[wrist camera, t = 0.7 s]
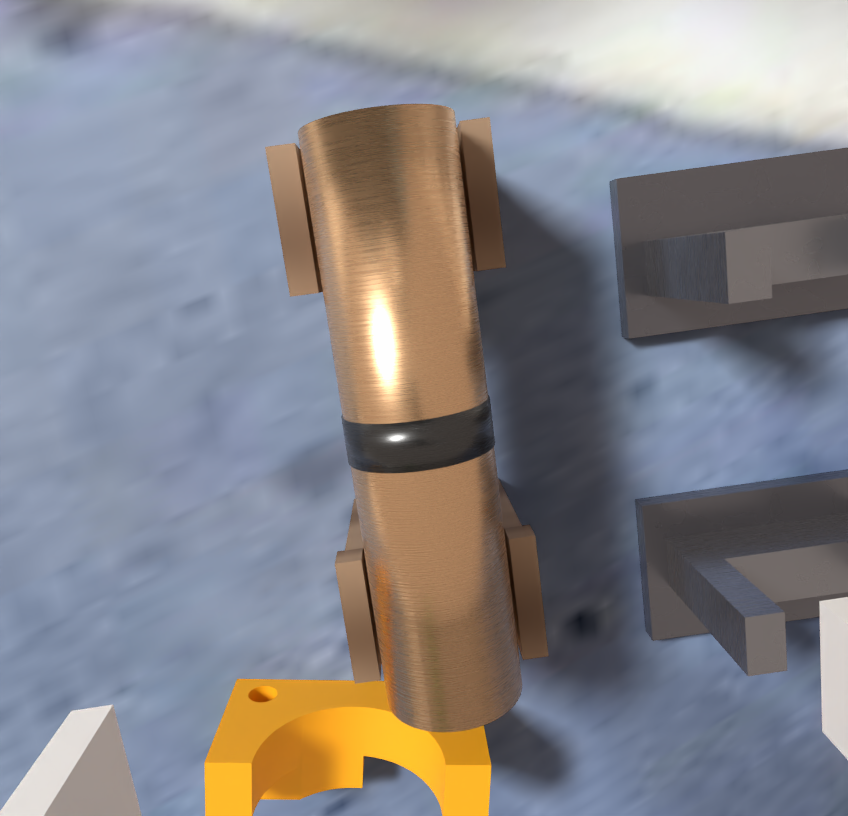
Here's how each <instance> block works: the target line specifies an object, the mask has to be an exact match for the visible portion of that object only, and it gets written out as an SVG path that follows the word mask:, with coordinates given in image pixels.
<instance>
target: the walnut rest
mask: <svg viewBox="0 0 848 816" xmlns="http://www.w3.org/2000/svg"><path fill="white" fill-rule="evenodd" d="M456 129H457V137H458V146H459V154H460V163H461V171H462V180H463V188H464V197H465V205H466V213H467V222H468V230H469V239H470V247H471V256H472V264H473V271H482V270H489V269H497V268H504V267H506V263H505V254H504V245H503V236H502V227H501V218H500V208H499V199H498V190H497V181H496V172H495V163H494V154H493V144H492V135H491V126H490V117H487V118H480V119H472V120H465V121H460V123H459V125H458V127H457V128H456ZM265 149H266V155H267V161H268V167H269V173H270V179H271V185H272V190H273V196H274V202H275V208H276V214H277V220H278V226H279V232H280V238H281V244H282V250H283V256H284V262H285V268H286V274H287V280H288V286H289V292H290V297H291V296H298V295H305V294H313V293H319V292H323V288H322V282H321V275H320V269H319V263H318V257H317V250H316V244H315V238H314V231H313V225H312V219H311V212H310V206H309V200H308V193H307V187H306V181H305V174H304V168H303V162H302V155H301V149H299V148H298V146H297V145H296V144H295V143H292V144H285V145H277V146H270V147H265ZM498 485H499V493H500V502H501V510H502V519H503V527H504V536H505V544H506V552H507V561H508V569H509V578H510V586H511V595H512V603H513V612H514V620H515V629H516V637H517V644H518V646H519V649H520V652H521V655H522V658H523V660H525V659H532V658H539V657H546V656H548V647H547V638H546V629H545V620H544V611H543V602H542V593H541V583H540V574H539V565H538V556H537V547H536V538H535V534H534V532H533V530H532V528H531V527H530V525H523V526H522V525H521V523H520V521H519V519H518V517H517V515H516V513H515V511H514V509H513V507H512V505H511V503H510V501H509V499H508V496H507V494H506V492H505V490H504V488H503V486H502V484H501V482H500V480H499V479H498ZM335 567H336V573H337V579H338V585H339V591H340V597H341V603H342V609H343V615H344V621H345V627H346V633H347V639H348V645H349V651H350V657H351V663H352V669H353V675H354V681H355V684H357V683H364V682H371V681H378V680H381V664H382V661H381V655H380V648H379V642H378V636H377V629H376V623H375V617H374V610H373V604H372V598H371V591H370V585H369V579H368V572H367V566H366V560H365V554H364V547H363V541H362V535H361V528H360V522H359V516H358V509H357V503H356V499H354V504H353V509H352V515H351V520H350V526H349V531H348V537H347V542H346V548H345V551H338V552H337V556H336V561H335Z"/></svg>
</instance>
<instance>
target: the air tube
mask: <svg viewBox="0 0 848 816" xmlns="http://www.w3.org/2000/svg"><path fill="white" fill-rule="evenodd" d="M298 136H299V143H300V149H301V155H302V162H303V168H304V174H305V181H306V187H307V193H308V200H309V206H310V212H311V219H312V225H313V231H314V238H315V244H316V250H317V257H318V263H319V269H320V275H321V282H322V288H323V294H324V301H325V307H326V313H327V320H328V326H329V332H330V339H331V345H332V351H333V358H334V364H335V370H336V377H337V383H338V389H339V396H340V402H341V408H342V424H343V430H344V437H345V443H346V449H347V456H348V462H349V465H350V466H351V471H352V478H353V484H354V490H355V497H356V503H357V509H358V516H359V522H360V528H361V535H362V541H363V547H364V554H365V560H366V566H367V572H368V579H369V585H370V591H371V598H372V604H373V610H374V617H375V623H376V629H377V636H378V642H379V648H380V655H381V661H382V667H383V674H384V680H385V686H386V693H387V699H388V704H389V707H390V710H391V711H392V713H393V714H394V715H395V716H396V718H398V719H399V720H400V721H402V722H403V723H405V724H407V725H409V726H411V727H414V728H417V729H420V730H424V731H431V732H458V731H464V730H470V729H474V728H477V727H480V726H483V725H486V724H488V723H490V722H492V721H495V720H496V719H498V718H500V717H501V716H503V715H504V714H505V713H507V712H508V711H509V710H510V709H511V708H512V707H513V706H514V705H515V704H516V702H517V701H518V699H519V697H520V695H521V691H522V680H521V671H520V663H519V654H518V646H517V637H516V629H515V620H514V612H513V603H512V595H511V586H510V578H509V569H508V561H507V552H506V544H505V536H504V527H503V519H502V510H501V502H500V493H499V485H498V476H497V468H496V459H495V451H494V445H495V438H494V430H493V421H492V413H491V404H490V397H489V395H488V391H487V383H486V375H485V366H484V358H483V349H482V341H481V332H480V324H479V315H478V307H477V298H476V290H475V281H474V273H473V264H472V256H471V247H470V239H469V230H468V222H467V213H466V205H465V197H464V188H463V180H462V171H461V163H460V154H459V146H458V137H457V129H456V120H455V112H454V110H453V109H451V108H449V107H446V106H441V105H433V104H400V105H388V106H379V107H371V108H364V109H358V110H353V111H348V112H343V113H339V114H335V115H331V116H328V117H324V118H321V119H318V120H315V121H313V122H311V123H308V124H306V125H305V126H303V127H302V128H300V130H299V131H298Z"/></svg>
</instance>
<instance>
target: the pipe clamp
mask: <svg viewBox="0 0 848 816" xmlns="http://www.w3.org/2000/svg"><path fill="white" fill-rule="evenodd" d="M364 756H369V757H375V758H380V759H384V760H387V761H391V762H394V763H396V764H398V765H401V766H403V767H405V768H407V769H409V770H410V771H412V772H413V773H415V774H416V775H417V776H419V777H420V778H421V779H422V780H423V781H424V782H425V783H426V784H427V785H428V786H429V787H430V788H431V789H432V791H433V792H434V794H435V796H436V797H437V799H438V801H439V804H440V807H441V810H442V815H443V816H488V810H489V795H490V779H491V761H490V756H489V751H488V745H487V740H486V735H485V730H484V725H483V726H480V727H477V728H474V729H470V730H464V731H458V732H431V731H424V730H420V729H417V728H414V727H411V726H409V725H407V724H405V723H403V722H402V721H400V720H399V719H398V718H396V716H395V715H394V714H393V713H392V711H391V710H390V707H389V704H388V699H387V693H386V686H385V681H371V682H364V683H357V684H355V681H344V680H273V679H237V681H236V683H235V686H234V689H233V691H232V694H231V696H230V699H229V701H228V704H227V707H226V709H225V712H224V714H223V717H222V719H221V722H220V724H219V727H218V730H217V732H216V735H215V737H214V740H213V742H212V745H211V747H210V750H209V753H208V755H207V758H206V760H205V812H206V816H253V813H254V810H255V808H256V806H257V804H258V802H259V800H260V799H298V800H300V799H302V798H304V797H307V796H309V795H312V794H315V793H318V792H321V791H326V790H331V789H338V788H362V785H363V770H364Z"/></svg>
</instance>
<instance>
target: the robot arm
mask: <svg viewBox="0 0 848 816" xmlns="http://www.w3.org/2000/svg"><path fill="white" fill-rule="evenodd" d="M819 606H820V650H821V693H822V732H823V733H824V734H825V735H826V736H827V737H828V738H829V739H830V741H831V742H832V743H833V744H834V745H835V746H836V747H837V748H838V749H839V751H840V752H841V753H842V754H843V755H844V756H845V757H846V758H847V759H848V597H844V598H837V599H831V600H824V601H819ZM0 816H141V812H140V808H139V804H138V800H137V796H136V792H135V788H134V784H133V780H132V777H131V773H130V769H129V765H128V761H127V757H126V753H125V749H124V745H123V742H122V738H121V734H120V730H119V726H118V722H117V718H116V714H115V710H114V706H113V705H108V706H101V707H95V708H88V709H81V710H74V711H71V712H70V714H69V715H68V716H67V718H66V719H65V721H64V722H63V723H62V725H61V726H60V728H59V729H58V730H57V732H56V733H55V735H54V736H53V738H52V739H51V740H50V742H49V743H48V745H47V746H46V747H45V749H44V750H43V752H42V753H41V754H40V756H39V757H38V759H37V760H36V762H35V763H34V764H33V766H32V767H31V769H30V770H29V771H28V773H27V774H26V776H25V777H24V778H23V780H22V781H21V783H20V784H19V785H18V787H17V788H16V790H15V791H14V793H13V794H12V795H11V797H10V798H9V800H8V801H7V802H6V804H5V805H4V807H3V808H2V809H1V811H0Z"/></svg>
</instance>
